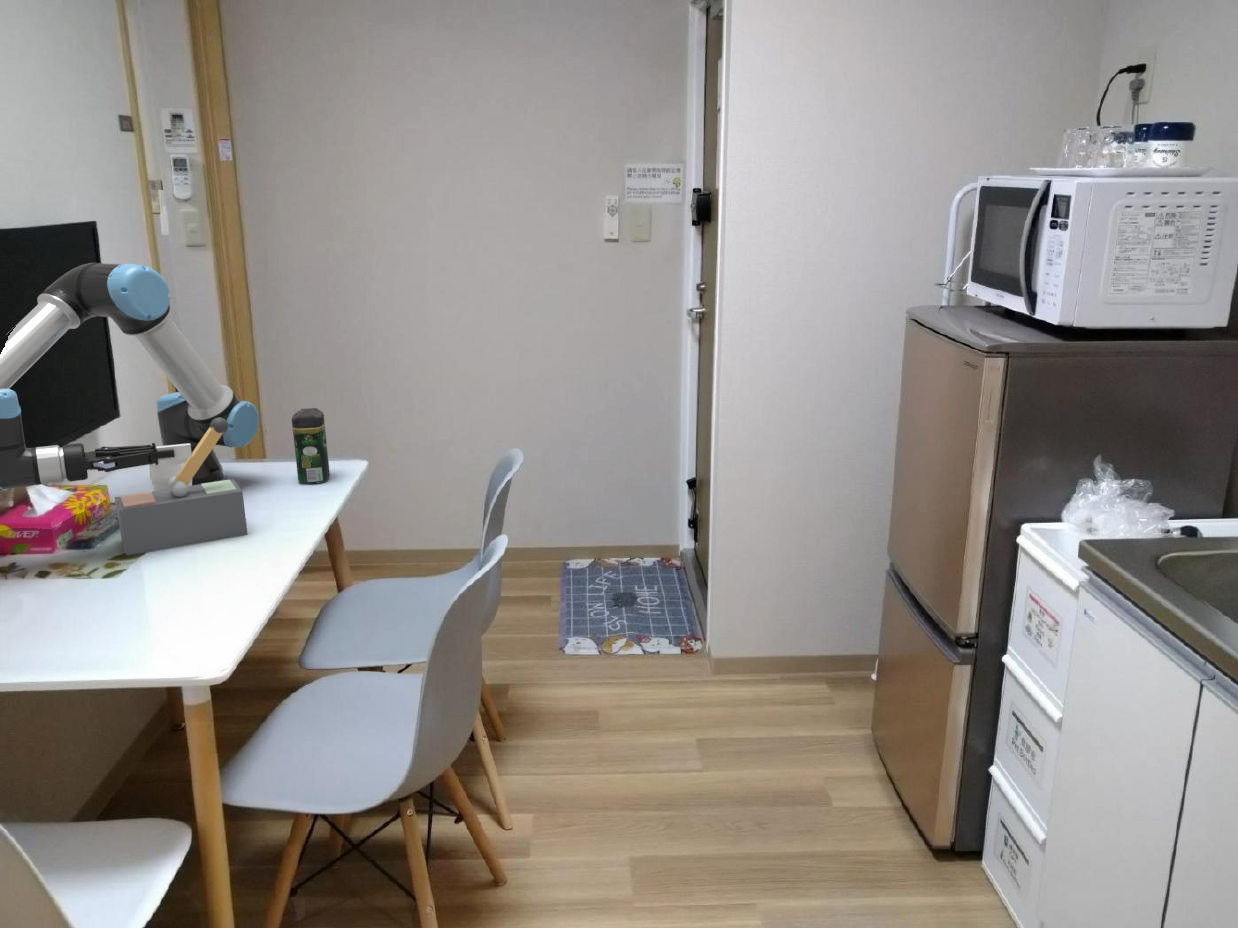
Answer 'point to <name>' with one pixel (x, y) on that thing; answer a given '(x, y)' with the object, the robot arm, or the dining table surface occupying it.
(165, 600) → the dining table surface
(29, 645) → the dining table surface
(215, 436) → the lever
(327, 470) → the coffee jar
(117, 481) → the dining table surface
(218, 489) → the breaker box
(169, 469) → the cup
